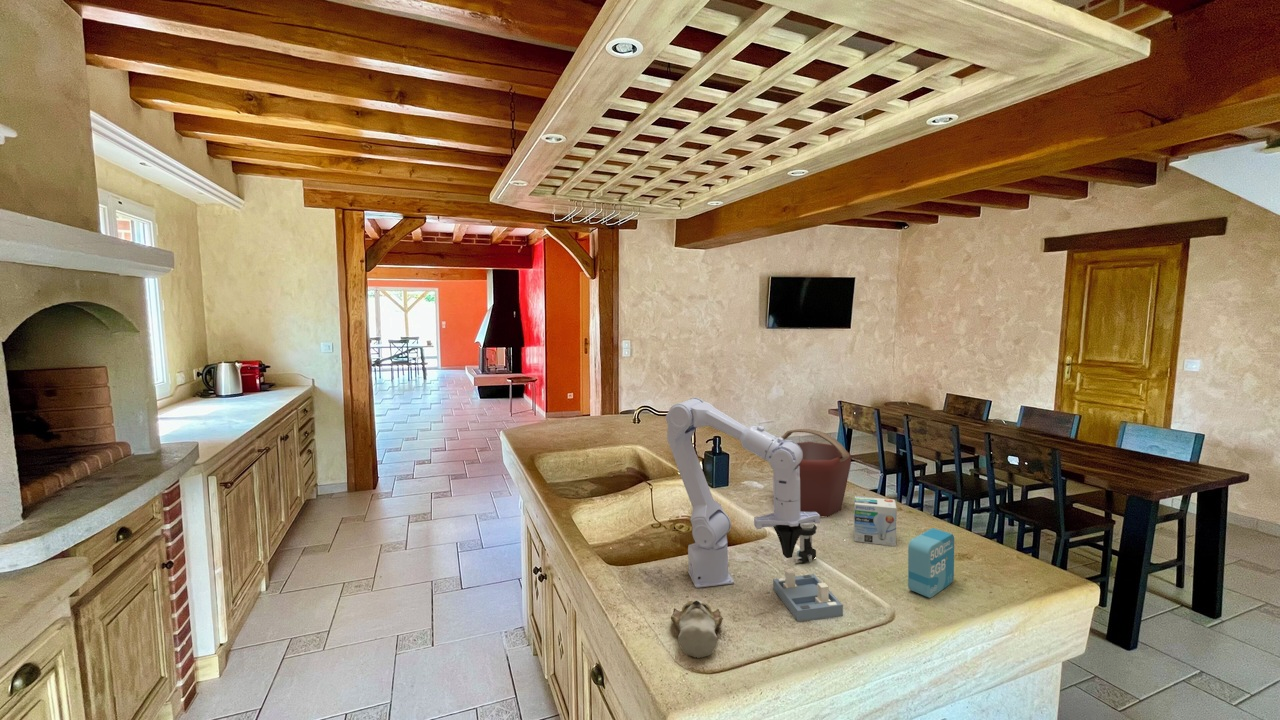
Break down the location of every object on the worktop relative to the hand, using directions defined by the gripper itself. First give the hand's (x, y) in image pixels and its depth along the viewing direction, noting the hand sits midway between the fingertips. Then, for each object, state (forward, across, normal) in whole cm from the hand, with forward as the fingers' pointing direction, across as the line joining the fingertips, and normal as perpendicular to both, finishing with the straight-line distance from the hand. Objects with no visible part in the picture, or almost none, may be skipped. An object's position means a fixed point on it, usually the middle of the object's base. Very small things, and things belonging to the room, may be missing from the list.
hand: (787, 555), depth 116 cm
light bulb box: (+10, +35, +22) cm, 43 cm away
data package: (+10, +33, -2) cm, 35 cm away
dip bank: (+10, +3, -2) cm, 11 cm away
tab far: (+9, +1, +1) cm, 9 cm away
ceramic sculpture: (+10, -24, -11) cm, 28 cm away
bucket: (+10, +30, +48) cm, 58 cm away
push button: (+10, +11, +15) cm, 21 cm away
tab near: (+9, +5, -6) cm, 12 cm away
